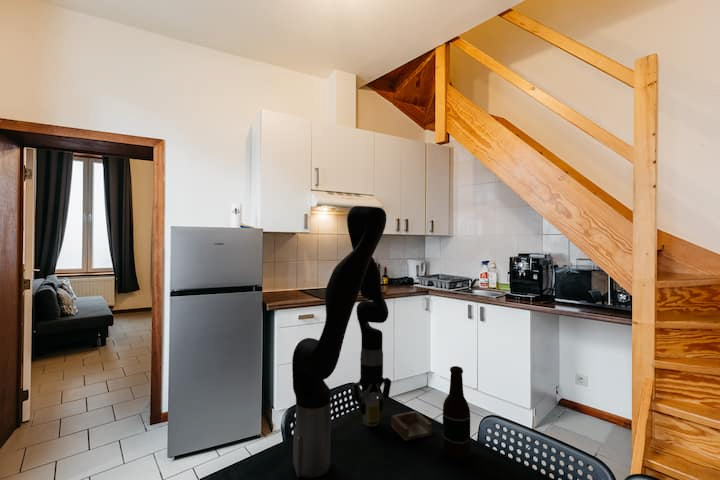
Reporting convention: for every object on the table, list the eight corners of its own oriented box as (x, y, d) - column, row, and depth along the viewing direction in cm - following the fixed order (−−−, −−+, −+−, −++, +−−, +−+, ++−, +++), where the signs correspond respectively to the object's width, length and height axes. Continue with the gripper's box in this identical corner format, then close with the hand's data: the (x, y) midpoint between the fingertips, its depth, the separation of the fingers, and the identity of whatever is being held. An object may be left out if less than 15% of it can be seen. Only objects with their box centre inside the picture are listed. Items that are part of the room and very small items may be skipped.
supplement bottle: (382, 421, 117) (382, 392, 117) (374, 428, 112) (374, 397, 113) (368, 417, 120) (368, 388, 120) (359, 424, 115) (360, 394, 115)
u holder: (405, 440, 105) (405, 429, 105) (391, 426, 114) (391, 415, 114) (431, 435, 109) (432, 423, 109) (416, 421, 118) (416, 410, 118)
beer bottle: (439, 455, 98) (439, 369, 99) (445, 441, 105) (446, 361, 106) (467, 463, 95) (467, 374, 95) (472, 449, 101) (472, 365, 102)
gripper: (355, 367, 110) (355, 421, 110) (396, 362, 116) (395, 413, 115) (347, 360, 117) (347, 411, 117) (386, 355, 123) (385, 404, 122)
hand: (371, 412), depth 116 cm, fingers closed on supplement bottle, 5 cm apart
